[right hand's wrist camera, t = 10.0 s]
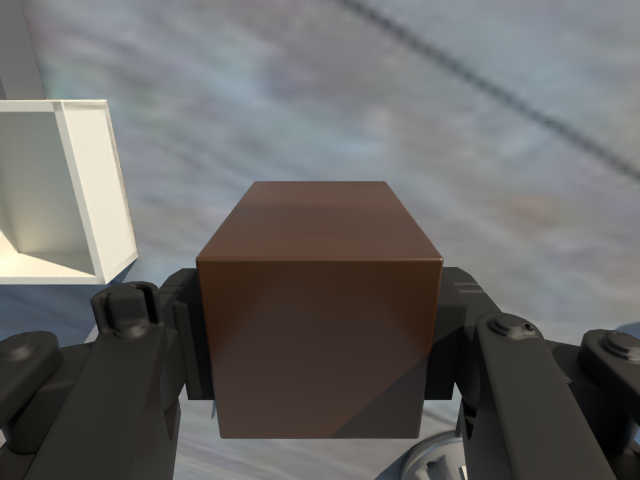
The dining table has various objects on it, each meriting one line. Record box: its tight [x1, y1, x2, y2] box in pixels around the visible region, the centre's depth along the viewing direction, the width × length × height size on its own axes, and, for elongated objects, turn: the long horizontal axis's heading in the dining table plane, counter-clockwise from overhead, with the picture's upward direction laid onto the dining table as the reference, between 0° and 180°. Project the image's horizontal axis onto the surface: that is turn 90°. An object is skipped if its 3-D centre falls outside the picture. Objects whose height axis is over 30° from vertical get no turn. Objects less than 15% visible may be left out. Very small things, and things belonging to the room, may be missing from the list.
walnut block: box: [196, 181, 444, 439], centre depth 11 cm, size 5×5×7 cm
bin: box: [0, 0, 138, 284], centre depth 28 cm, size 27×12×6 cm, turn 0°
